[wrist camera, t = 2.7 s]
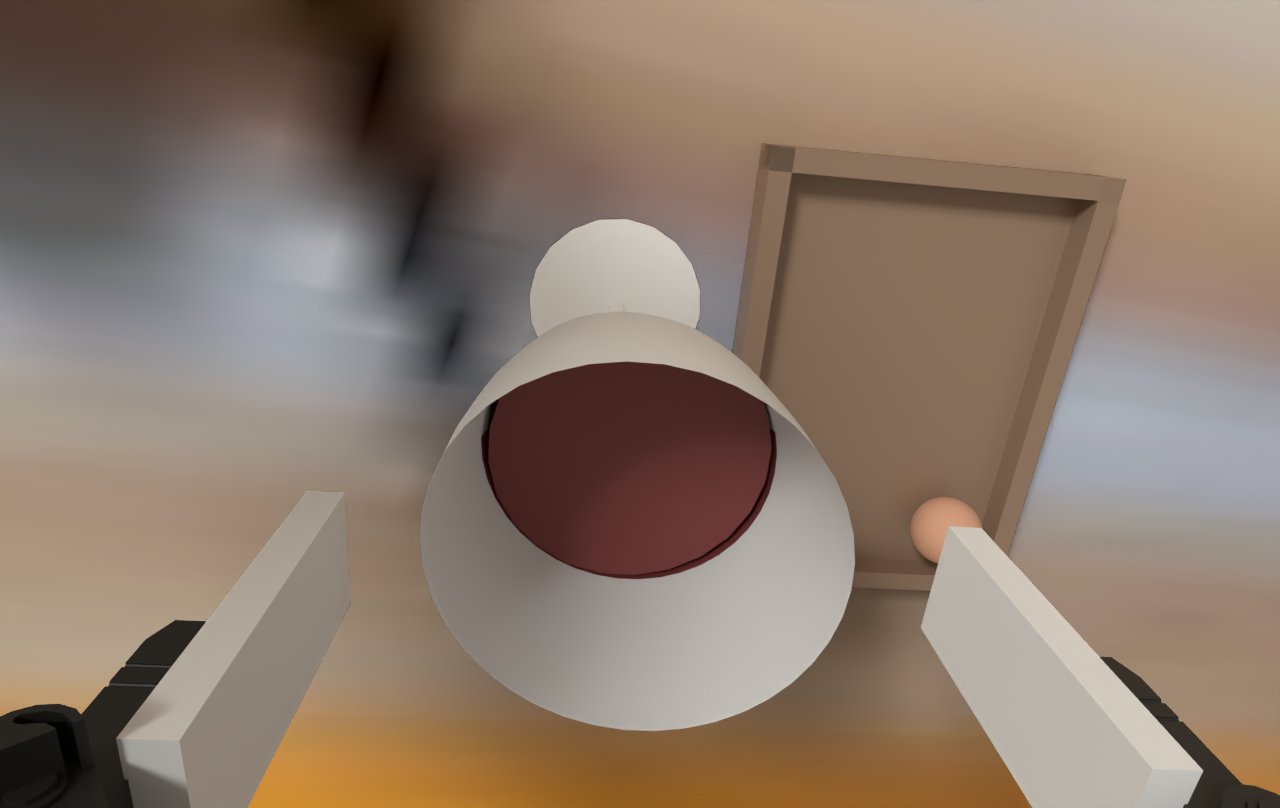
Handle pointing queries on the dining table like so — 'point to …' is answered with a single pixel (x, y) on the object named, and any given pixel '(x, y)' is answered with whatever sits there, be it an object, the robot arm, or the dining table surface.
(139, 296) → the dining table surface
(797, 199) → the tray
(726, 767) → the dining table surface
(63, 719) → the robot arm
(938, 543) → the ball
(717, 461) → the wineglass
